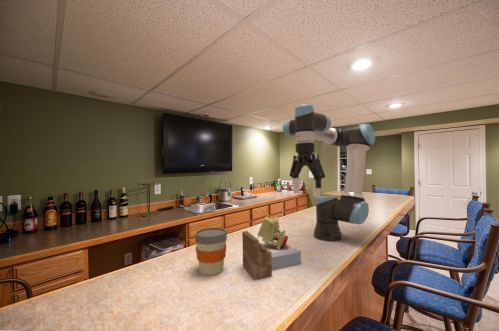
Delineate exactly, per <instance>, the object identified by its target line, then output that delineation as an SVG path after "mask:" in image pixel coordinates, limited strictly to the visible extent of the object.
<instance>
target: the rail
mask: <svg viewBox="0 0 499 331" xmlns="http://www.w3.org/2000/svg"><path fill="white" fill-rule="evenodd" d="M271 257H272V271H276V270H281V269H285V268H289V267H293V266H297V265H301V264H302V252H301V251H300V250H298V249H297V248H290V249H285V250H278V251H275V252H271Z"/></svg>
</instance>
